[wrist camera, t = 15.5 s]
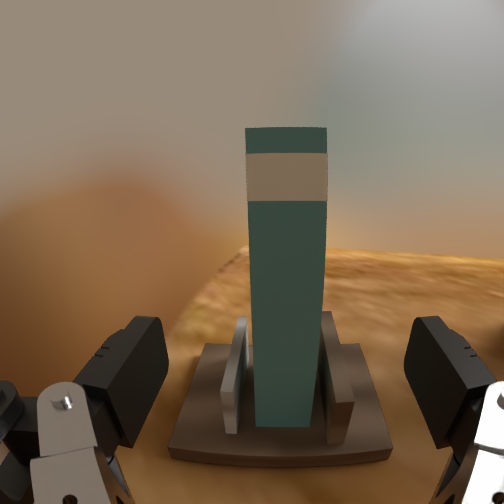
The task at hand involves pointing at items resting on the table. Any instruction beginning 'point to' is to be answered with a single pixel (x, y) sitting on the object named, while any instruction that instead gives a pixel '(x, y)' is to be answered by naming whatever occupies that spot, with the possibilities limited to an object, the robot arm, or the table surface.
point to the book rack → (281, 438)
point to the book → (286, 267)
